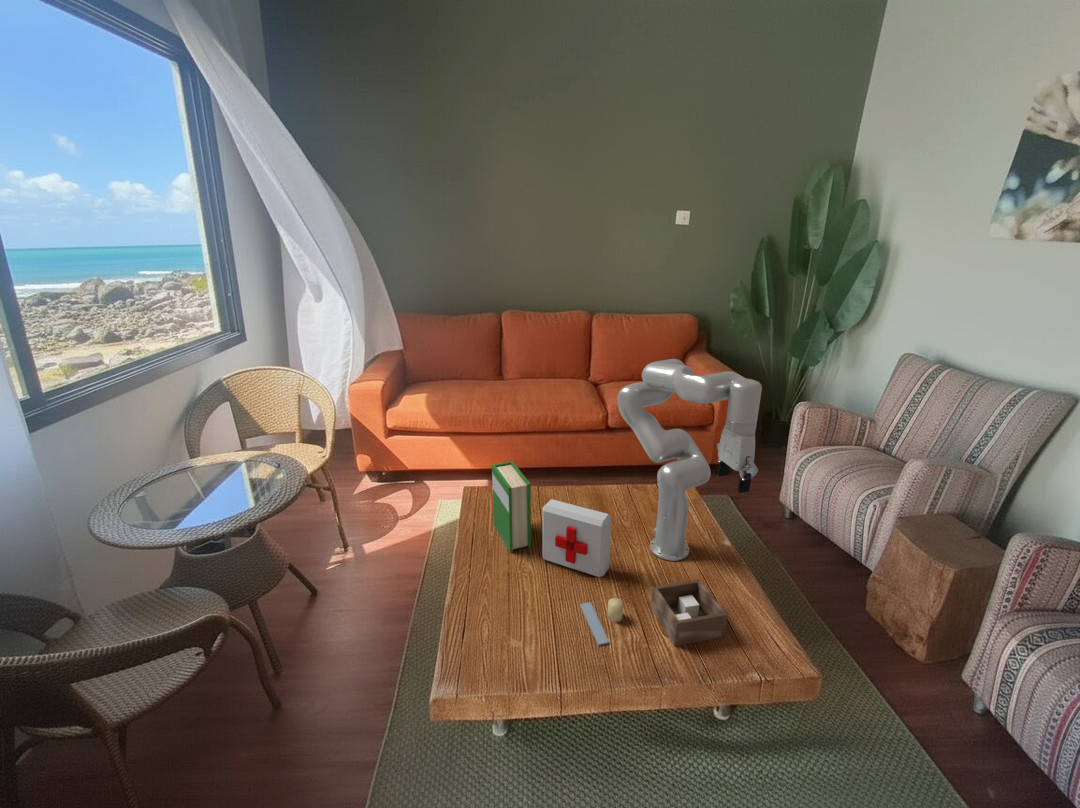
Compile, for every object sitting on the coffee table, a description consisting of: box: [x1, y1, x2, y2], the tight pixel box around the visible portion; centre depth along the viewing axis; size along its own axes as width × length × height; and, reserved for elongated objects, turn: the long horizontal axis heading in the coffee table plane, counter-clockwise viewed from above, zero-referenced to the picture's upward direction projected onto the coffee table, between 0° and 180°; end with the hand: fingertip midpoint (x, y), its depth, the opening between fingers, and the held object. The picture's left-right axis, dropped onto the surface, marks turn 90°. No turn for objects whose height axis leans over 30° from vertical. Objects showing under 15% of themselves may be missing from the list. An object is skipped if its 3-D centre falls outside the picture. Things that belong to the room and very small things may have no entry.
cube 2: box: [675, 613, 691, 620], centre depth 133 cm, size 4×4×4 cm
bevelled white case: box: [541, 498, 612, 578], centre depth 158 cm, size 21×8×20 cm, turn 62°
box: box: [650, 579, 728, 647], centre depth 136 cm, size 14×14×8 cm
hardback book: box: [491, 460, 532, 554], centre depth 173 cm, size 18×7×24 cm, turn 22°
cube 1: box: [677, 595, 699, 618], centre depth 140 cm, size 4×4×4 cm
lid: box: [579, 597, 624, 647], centre depth 139 cm, size 15×15×6 cm
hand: (732, 483), depth 141 cm, fingers open, 9 cm apart
